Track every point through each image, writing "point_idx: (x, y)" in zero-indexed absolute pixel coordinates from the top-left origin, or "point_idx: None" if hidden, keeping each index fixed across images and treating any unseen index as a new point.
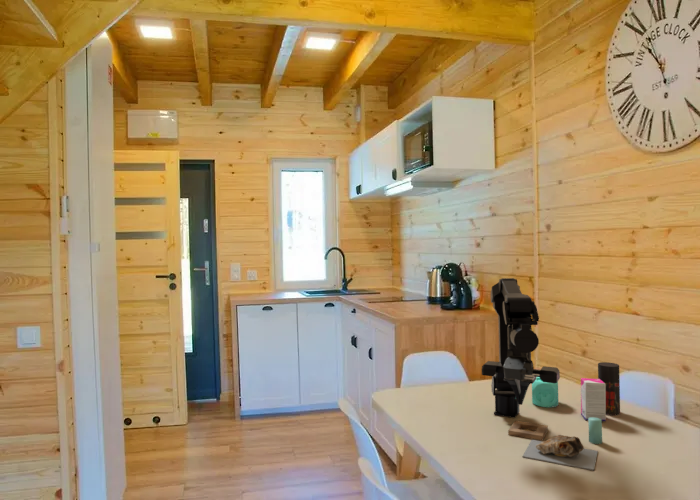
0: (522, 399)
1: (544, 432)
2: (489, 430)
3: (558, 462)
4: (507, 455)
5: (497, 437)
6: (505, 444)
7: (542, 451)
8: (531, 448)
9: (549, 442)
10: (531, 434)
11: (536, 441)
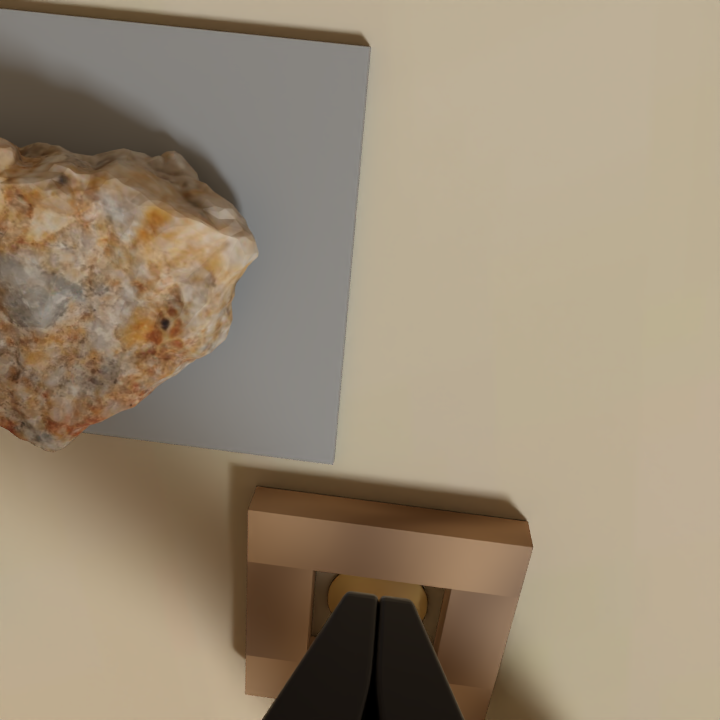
0: (303, 677)
1: (247, 584)
2: (688, 563)
3: (23, 18)
4: (526, 34)
5: (622, 445)
6: (550, 315)
7: (186, 172)
8: (310, 275)
9: (126, 309)
10: (336, 520)
11: (291, 437)
